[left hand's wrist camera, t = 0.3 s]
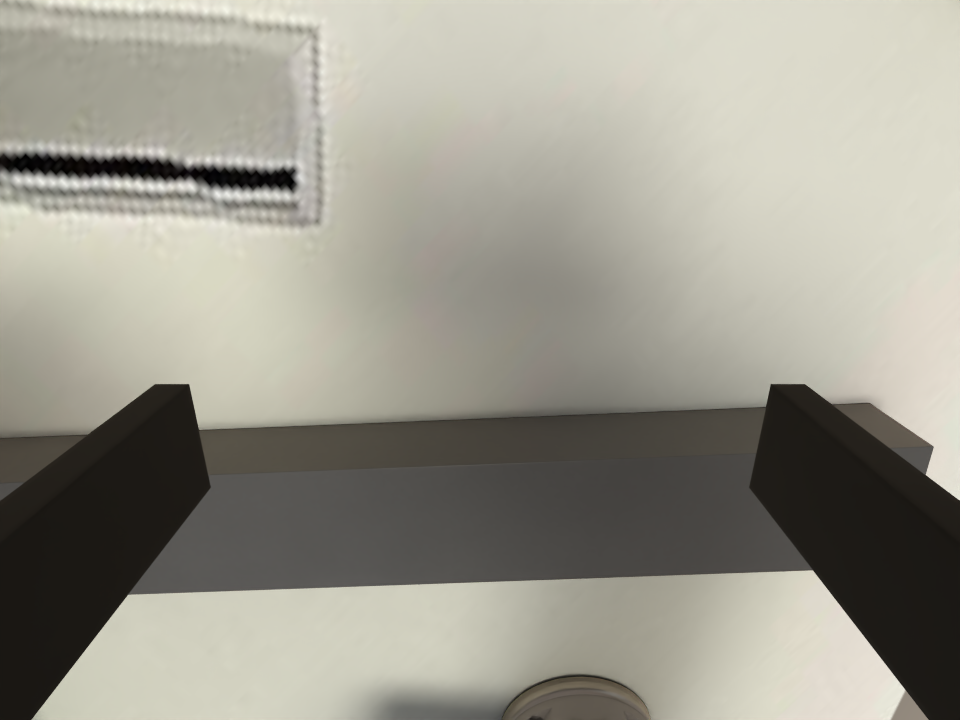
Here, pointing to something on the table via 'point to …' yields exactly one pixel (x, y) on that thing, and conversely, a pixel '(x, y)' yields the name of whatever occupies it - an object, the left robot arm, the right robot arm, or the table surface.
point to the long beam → (474, 500)
